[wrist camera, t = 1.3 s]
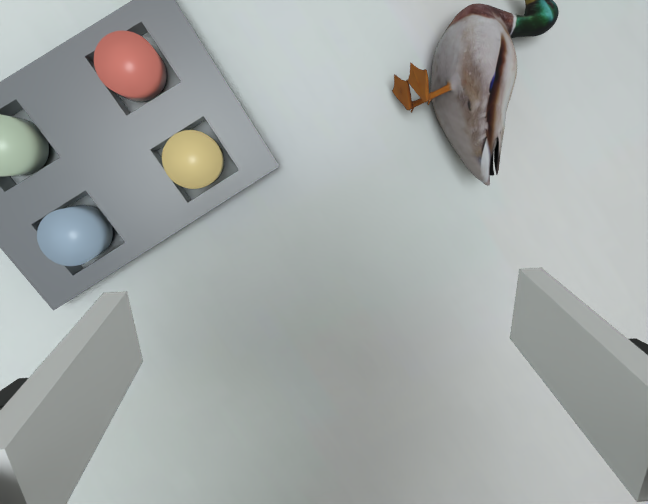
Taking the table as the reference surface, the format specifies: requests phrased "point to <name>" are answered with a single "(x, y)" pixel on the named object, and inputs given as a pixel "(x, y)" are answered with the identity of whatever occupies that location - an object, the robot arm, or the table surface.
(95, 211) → the slate button
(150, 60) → the red button
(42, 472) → the robot arm
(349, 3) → the table surface
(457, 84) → the decorative duck model
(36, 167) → the sage button
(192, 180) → the ochre button
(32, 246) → the button panel
